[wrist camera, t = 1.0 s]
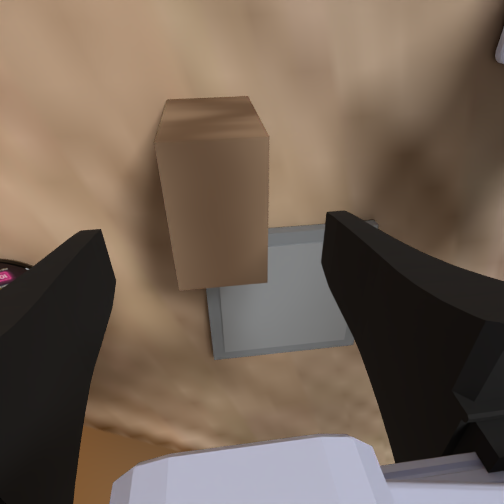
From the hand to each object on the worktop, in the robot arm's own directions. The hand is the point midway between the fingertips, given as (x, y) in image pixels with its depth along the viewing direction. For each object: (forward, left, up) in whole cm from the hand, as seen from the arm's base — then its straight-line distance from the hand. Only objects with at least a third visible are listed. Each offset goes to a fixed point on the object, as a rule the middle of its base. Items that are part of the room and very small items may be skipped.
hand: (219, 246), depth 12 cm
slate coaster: (-4, +9, -7) cm, 12 cm away
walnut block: (0, 0, -8) cm, 8 cm away
